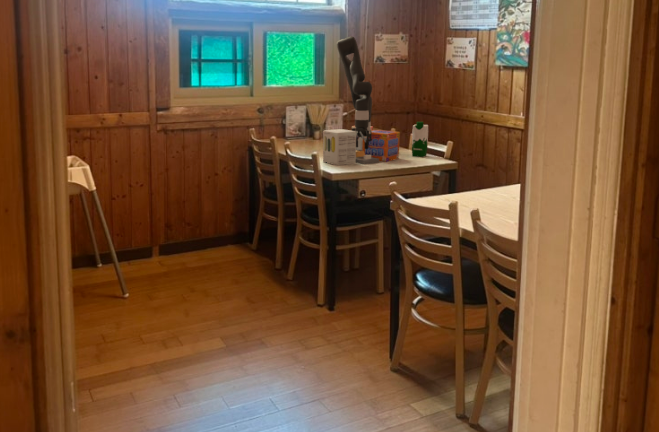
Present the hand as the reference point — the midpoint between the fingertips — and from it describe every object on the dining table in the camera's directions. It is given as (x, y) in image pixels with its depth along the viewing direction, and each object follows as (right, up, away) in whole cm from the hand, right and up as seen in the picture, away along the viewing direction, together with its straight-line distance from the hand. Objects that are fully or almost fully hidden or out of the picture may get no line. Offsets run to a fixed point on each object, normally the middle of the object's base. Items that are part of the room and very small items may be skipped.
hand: (361, 148), depth 393 cm
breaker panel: (0, -7, +2) cm, 7 cm away
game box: (+11, -6, +11) cm, 17 cm away
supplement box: (-12, -9, -4) cm, 15 cm away
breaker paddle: (0, -5, +1) cm, 5 cm away
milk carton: (+35, -3, +23) cm, 42 cm away
